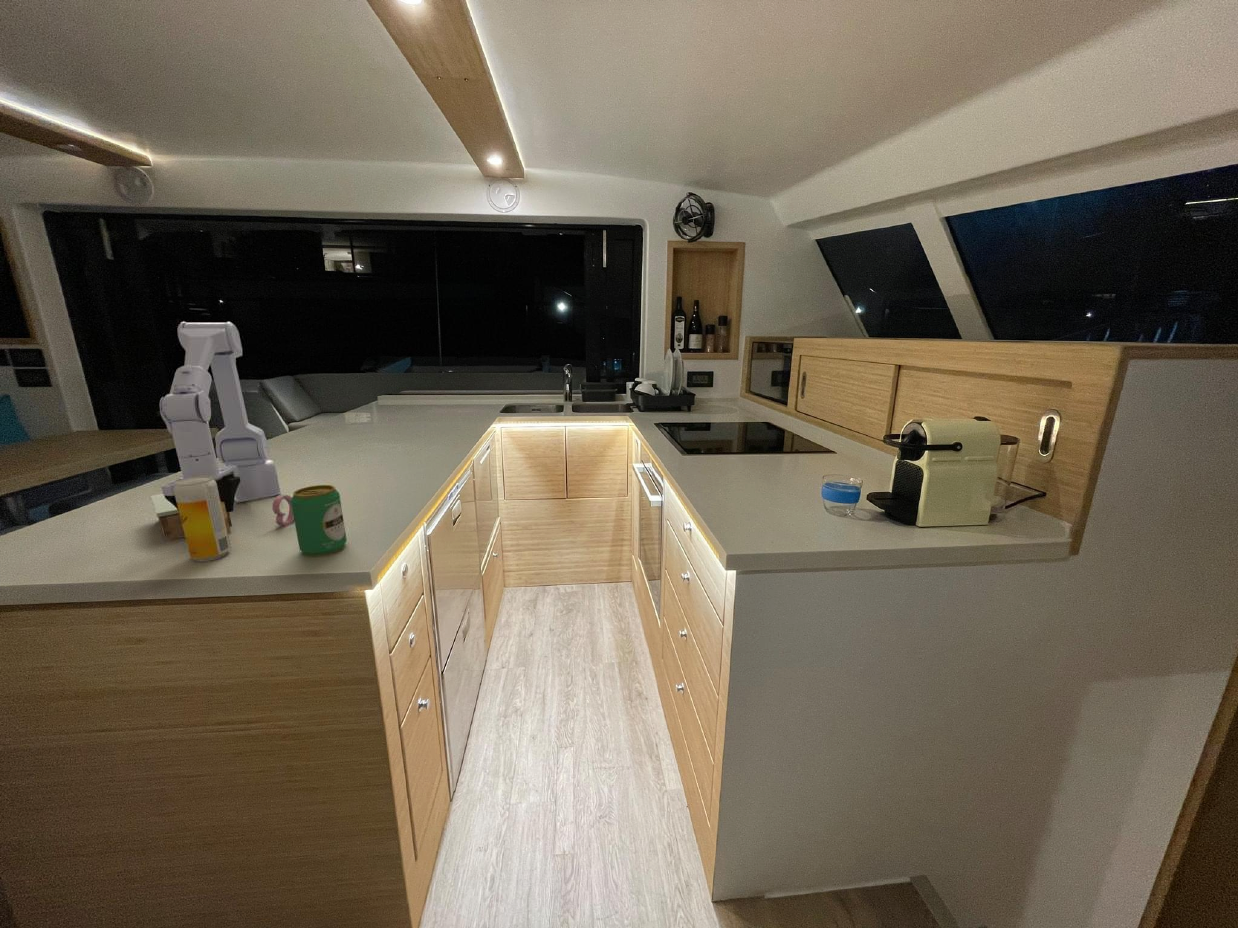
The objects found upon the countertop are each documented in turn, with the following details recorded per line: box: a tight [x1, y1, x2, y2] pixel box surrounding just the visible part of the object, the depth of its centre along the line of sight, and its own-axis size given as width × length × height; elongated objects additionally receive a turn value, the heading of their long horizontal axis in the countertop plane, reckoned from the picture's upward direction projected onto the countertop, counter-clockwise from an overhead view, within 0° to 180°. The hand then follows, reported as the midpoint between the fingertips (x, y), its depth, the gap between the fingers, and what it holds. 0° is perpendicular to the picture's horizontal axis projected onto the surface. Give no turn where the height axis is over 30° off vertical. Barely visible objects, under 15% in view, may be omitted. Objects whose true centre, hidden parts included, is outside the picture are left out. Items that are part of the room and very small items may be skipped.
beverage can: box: [291, 484, 348, 558], centre depth 96 cm, size 8×8×12 cm
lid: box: [150, 493, 179, 518], centre depth 109 cm, size 12×16×4 cm
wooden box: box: [157, 512, 233, 541], centre depth 111 cm, size 11×16×5 cm
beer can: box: [173, 476, 232, 562], centre depth 93 cm, size 6×6×15 cm
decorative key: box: [272, 494, 294, 527], centre depth 117 cm, size 7×1×20 cm
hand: (211, 517), depth 103 cm, fingers open, 7 cm apart
